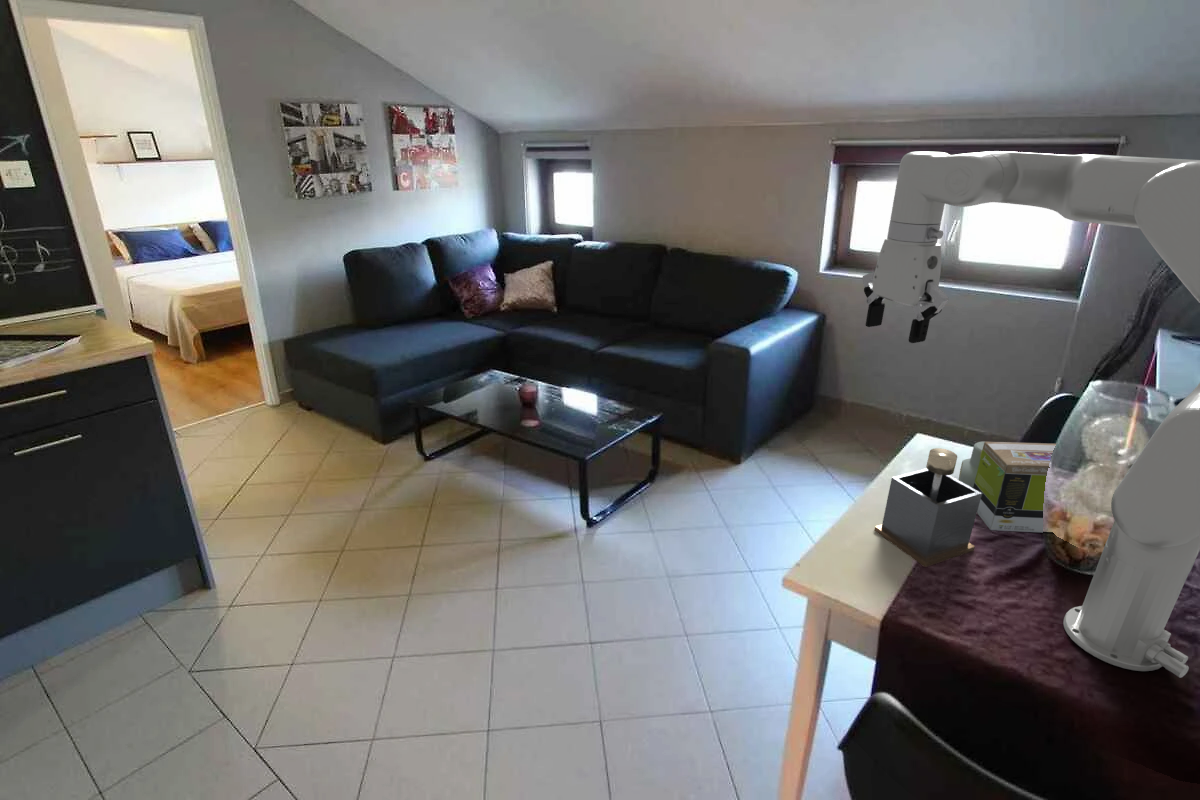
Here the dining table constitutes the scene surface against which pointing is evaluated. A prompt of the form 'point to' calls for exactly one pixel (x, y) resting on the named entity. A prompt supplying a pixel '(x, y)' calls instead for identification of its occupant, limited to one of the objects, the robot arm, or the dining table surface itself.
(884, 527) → the press housing
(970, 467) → the air freshener
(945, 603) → the dining table surface
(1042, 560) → the dining table surface
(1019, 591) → the dining table surface
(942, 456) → the plunger
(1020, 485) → the tea box
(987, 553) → the dining table surface
